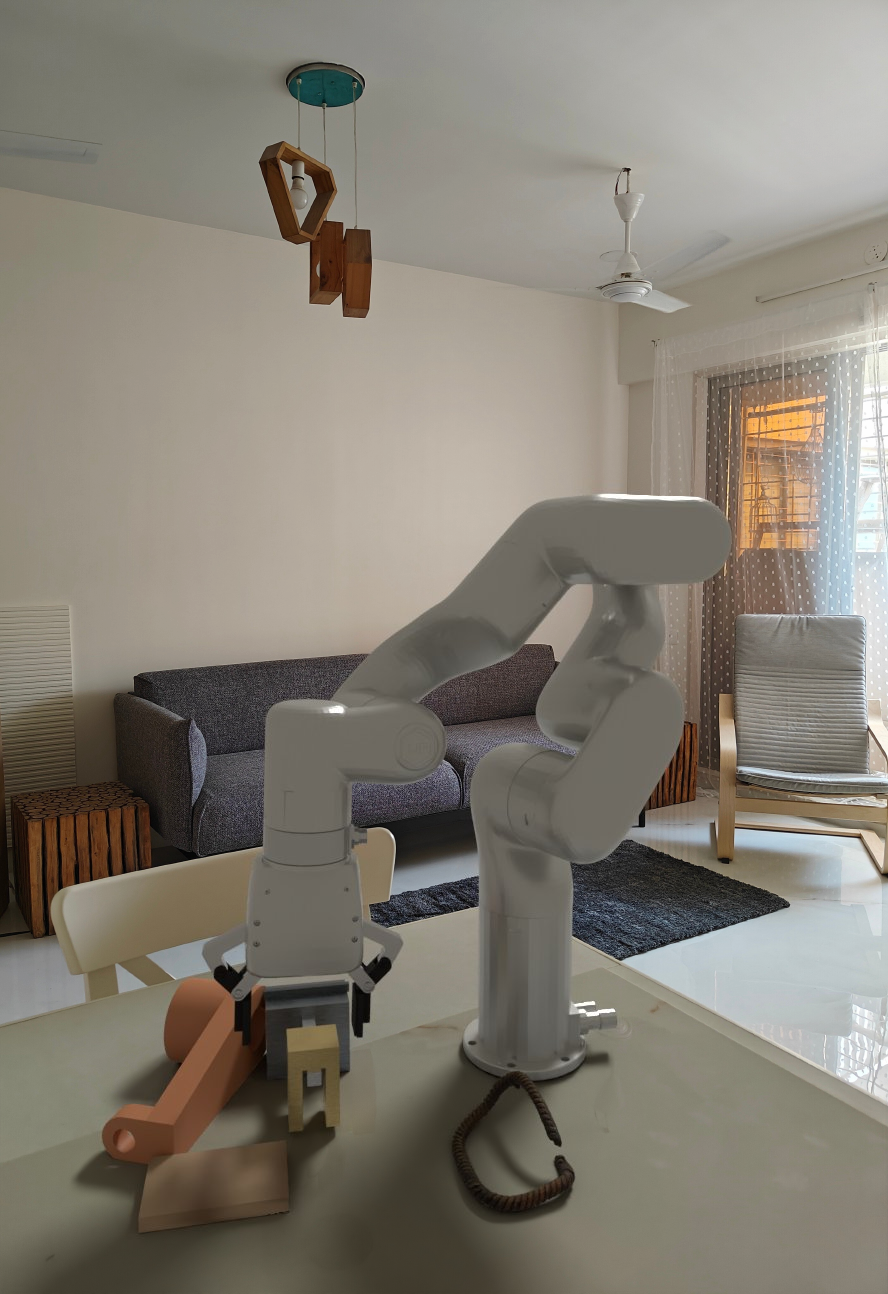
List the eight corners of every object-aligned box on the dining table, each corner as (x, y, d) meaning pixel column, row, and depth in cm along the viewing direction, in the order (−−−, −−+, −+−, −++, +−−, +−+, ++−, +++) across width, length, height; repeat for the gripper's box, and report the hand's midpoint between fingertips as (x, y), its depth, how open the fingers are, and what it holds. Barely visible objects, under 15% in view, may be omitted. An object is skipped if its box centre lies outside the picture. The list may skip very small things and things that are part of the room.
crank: (204, 1036, 95) (202, 964, 94) (273, 1045, 93) (272, 972, 92) (89, 1156, 75) (86, 1066, 75) (174, 1170, 73) (172, 1078, 73)
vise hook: (346, 1038, 94) (345, 967, 93) (363, 1132, 78) (362, 1047, 77) (264, 1047, 92) (263, 974, 91) (265, 1145, 76) (264, 1057, 76)
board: (286, 1153, 75) (286, 1140, 75) (289, 1211, 68) (288, 1196, 68) (150, 1171, 73) (149, 1157, 73) (138, 1233, 66) (138, 1217, 66)
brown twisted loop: (582, 1172, 67) (449, 1164, 68) (578, 1234, 68) (447, 1225, 68) (567, 1060, 80) (456, 1054, 81) (564, 1114, 81) (454, 1107, 82)
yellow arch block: (336, 1099, 82) (335, 1024, 81) (340, 1125, 78) (339, 1046, 77) (287, 1104, 81) (286, 1029, 80) (289, 1132, 77) (287, 1052, 77)
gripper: (398, 829, 83) (393, 1008, 84) (206, 833, 79) (203, 1020, 80) (412, 853, 75) (406, 1049, 77) (201, 858, 72) (197, 1064, 73)
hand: (302, 1034), depth 78 cm, fingers open, 9 cm apart
